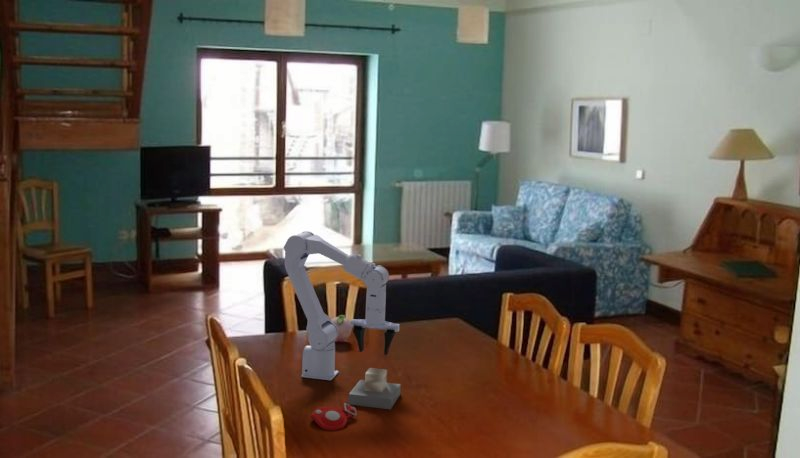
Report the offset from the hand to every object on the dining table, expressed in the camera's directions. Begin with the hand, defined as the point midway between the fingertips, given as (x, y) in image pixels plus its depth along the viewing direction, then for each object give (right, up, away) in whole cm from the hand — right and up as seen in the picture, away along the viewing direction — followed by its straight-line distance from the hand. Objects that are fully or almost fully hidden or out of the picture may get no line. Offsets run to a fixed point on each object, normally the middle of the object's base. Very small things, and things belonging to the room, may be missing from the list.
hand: (373, 352), depth 237 cm
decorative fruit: (-13, -3, +40) cm, 42 cm away
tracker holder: (-9, -14, -29) cm, 33 cm away
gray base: (+1, -11, -12) cm, 16 cm away
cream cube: (+1, -8, -12) cm, 15 cm away
